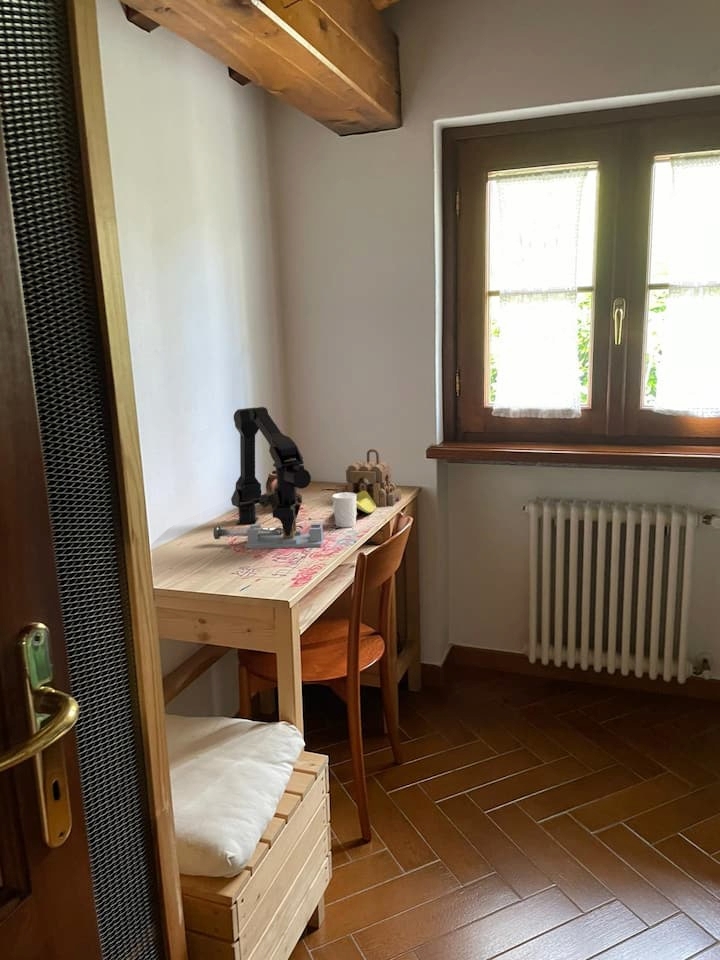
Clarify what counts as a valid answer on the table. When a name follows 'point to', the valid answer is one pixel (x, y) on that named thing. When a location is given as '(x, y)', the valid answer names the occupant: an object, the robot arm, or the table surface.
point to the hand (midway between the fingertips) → (289, 532)
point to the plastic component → (364, 502)
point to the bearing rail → (277, 541)
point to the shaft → (245, 532)
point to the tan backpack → (372, 481)
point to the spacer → (293, 531)
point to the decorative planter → (274, 485)
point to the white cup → (344, 509)
